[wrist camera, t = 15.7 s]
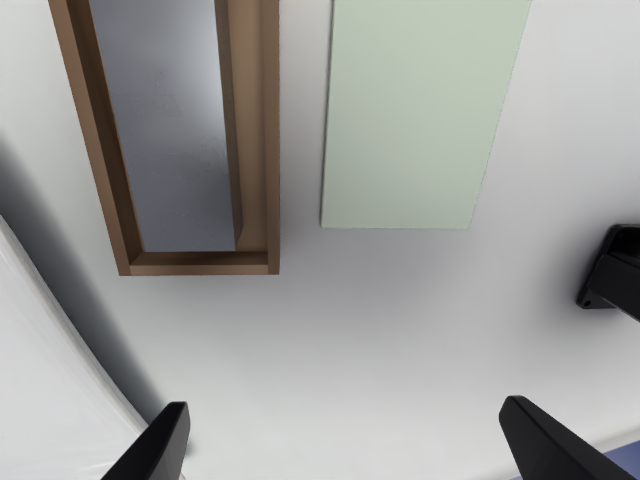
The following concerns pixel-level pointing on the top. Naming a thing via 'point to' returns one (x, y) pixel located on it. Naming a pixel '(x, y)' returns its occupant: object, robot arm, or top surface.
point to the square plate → (52, 385)
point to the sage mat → (414, 108)
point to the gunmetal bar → (175, 118)
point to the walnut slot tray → (252, 140)
